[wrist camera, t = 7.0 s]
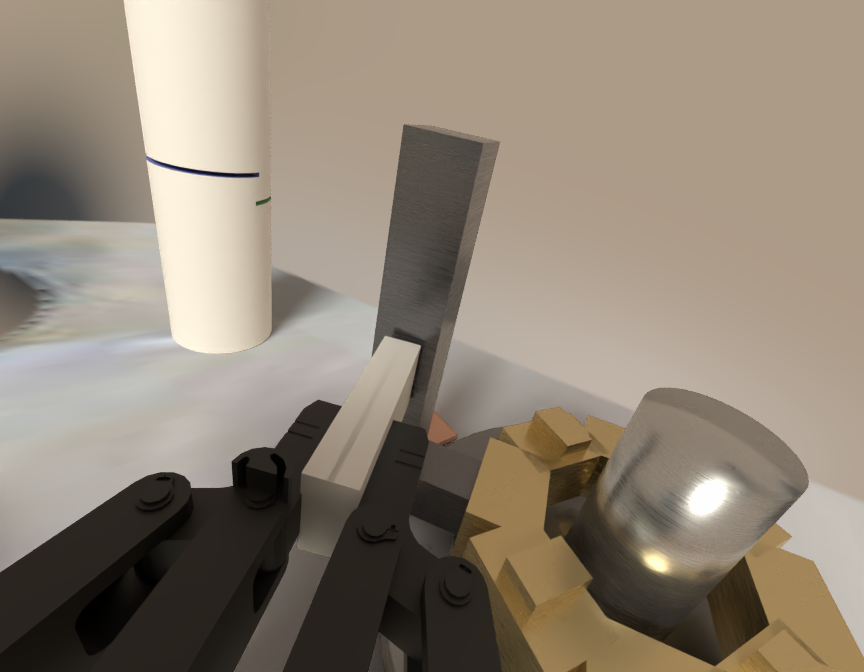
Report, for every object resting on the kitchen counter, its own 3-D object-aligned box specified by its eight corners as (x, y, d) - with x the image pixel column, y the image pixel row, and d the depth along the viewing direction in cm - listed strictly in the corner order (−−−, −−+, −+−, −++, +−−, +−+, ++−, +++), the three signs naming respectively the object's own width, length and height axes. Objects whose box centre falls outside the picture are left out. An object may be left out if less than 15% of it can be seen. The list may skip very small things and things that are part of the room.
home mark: (456, 439, 27) (457, 434, 27) (427, 451, 26) (428, 447, 25) (412, 394, 30) (413, 390, 30) (384, 404, 29) (385, 399, 29)
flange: (726, 500, 27) (839, 362, 22) (1081, 1189, 10) (2125, 1368, 4) (432, 414, 29) (468, 267, 23) (282, 862, 11) (289, 692, 6)
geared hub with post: (739, 517, 23) (977, 242, 15) (904, 947, 11) (2510, 676, 3) (416, 395, 26) (473, 127, 19) (273, 610, 15) (269, 117, 7)
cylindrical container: (151, 325, 32) (73, -135, 19) (235, 300, 37) (215, -70, 25) (209, 365, 29) (160, -143, 17) (290, 332, 34) (298, -67, 22)
